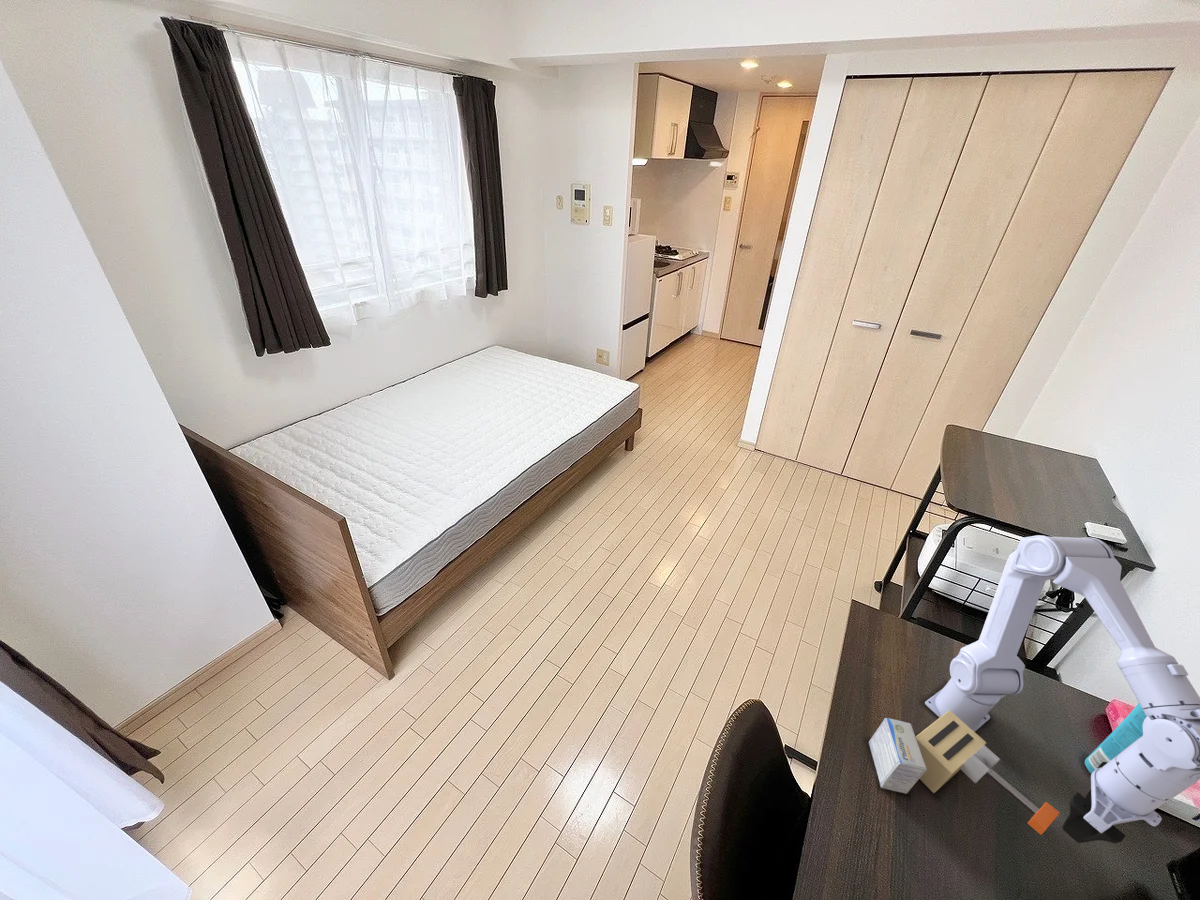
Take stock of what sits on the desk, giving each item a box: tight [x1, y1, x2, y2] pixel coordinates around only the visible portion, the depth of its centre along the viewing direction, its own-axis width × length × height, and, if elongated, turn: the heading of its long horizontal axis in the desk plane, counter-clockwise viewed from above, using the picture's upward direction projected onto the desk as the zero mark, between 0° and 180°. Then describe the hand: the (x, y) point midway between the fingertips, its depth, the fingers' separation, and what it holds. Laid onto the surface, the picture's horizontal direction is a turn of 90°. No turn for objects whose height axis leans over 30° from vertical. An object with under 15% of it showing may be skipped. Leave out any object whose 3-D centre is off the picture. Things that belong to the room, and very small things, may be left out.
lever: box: [978, 757, 1061, 836], centre depth 77 cm, size 5×10×2 cm, turn 29°
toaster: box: [915, 710, 1001, 794], centre depth 84 cm, size 11×9×10 cm
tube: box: [1084, 702, 1147, 775], centre depth 83 cm, size 7×5×19 cm, turn 20°
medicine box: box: [868, 717, 927, 795], centre depth 83 cm, size 8×4×9 cm, turn 168°
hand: (1082, 820), depth 72 cm, fingers open, 7 cm apart
